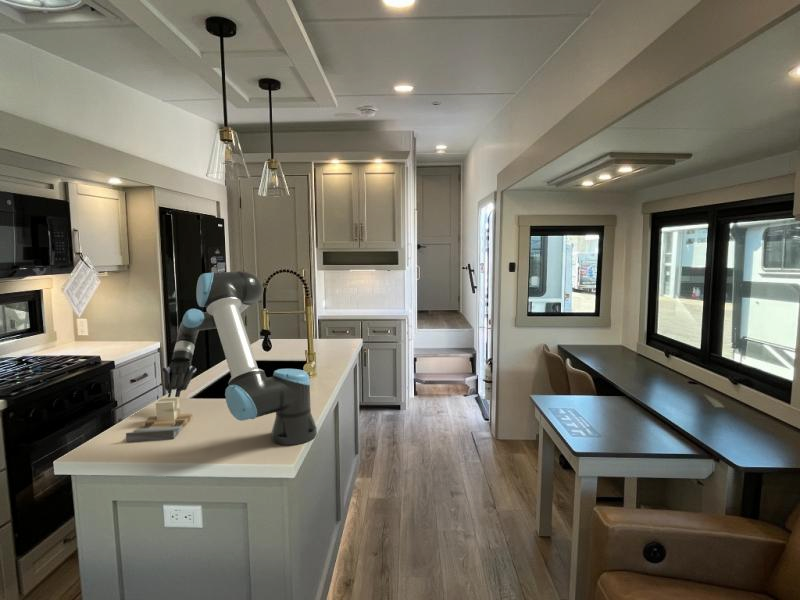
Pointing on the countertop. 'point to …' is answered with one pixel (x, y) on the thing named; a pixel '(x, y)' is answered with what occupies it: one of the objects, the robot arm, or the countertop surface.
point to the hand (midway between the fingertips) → (171, 406)
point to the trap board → (158, 429)
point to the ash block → (167, 409)
